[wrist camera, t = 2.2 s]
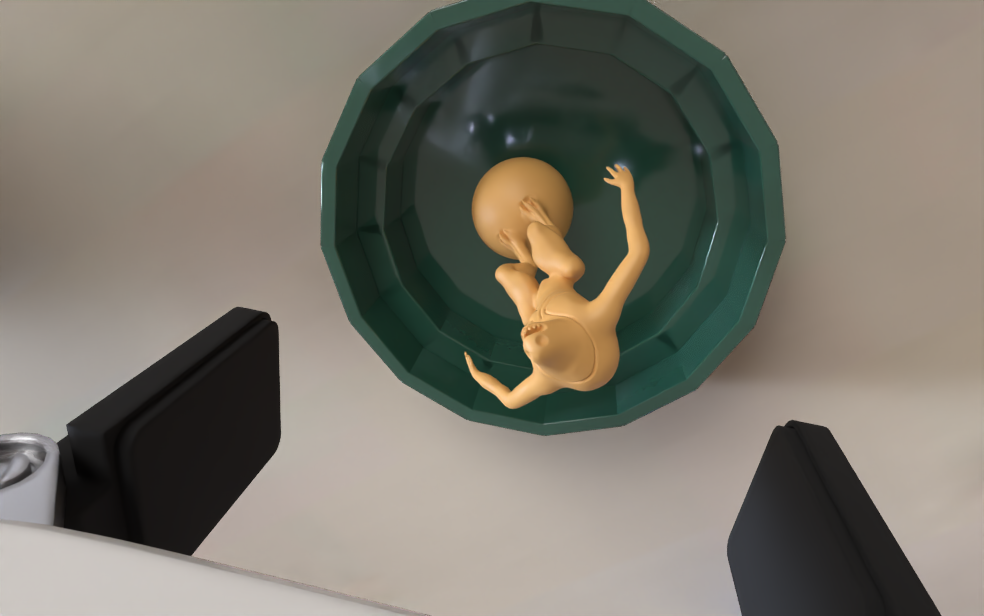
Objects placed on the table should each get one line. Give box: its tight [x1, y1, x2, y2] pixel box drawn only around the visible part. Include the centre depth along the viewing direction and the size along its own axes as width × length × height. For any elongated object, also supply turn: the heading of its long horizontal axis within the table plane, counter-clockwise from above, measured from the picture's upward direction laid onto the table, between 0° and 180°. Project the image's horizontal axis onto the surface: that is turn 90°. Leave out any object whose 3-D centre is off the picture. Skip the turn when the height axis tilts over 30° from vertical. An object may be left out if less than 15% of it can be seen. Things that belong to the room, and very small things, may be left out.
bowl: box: [321, 0, 786, 436], centre depth 23 cm, size 16×16×5 cm
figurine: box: [464, 157, 650, 409], centre depth 19 cm, size 8×6×12 cm
